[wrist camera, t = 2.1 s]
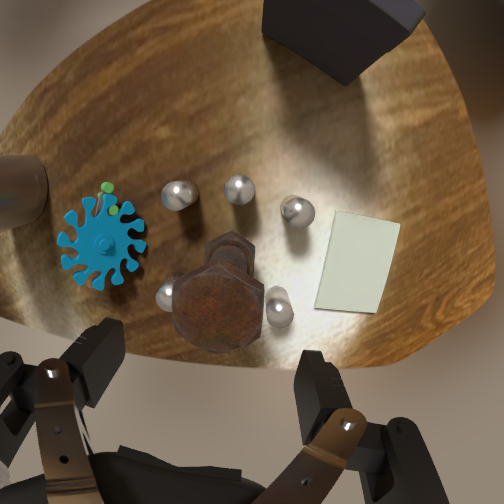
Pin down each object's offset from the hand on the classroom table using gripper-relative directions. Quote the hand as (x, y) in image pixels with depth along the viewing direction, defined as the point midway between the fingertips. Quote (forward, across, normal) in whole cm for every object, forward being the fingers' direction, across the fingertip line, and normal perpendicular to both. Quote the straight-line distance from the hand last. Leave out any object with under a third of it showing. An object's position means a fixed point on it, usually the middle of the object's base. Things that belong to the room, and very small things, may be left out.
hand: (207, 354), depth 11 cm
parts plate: (+19, -14, 0) cm, 23 cm away
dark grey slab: (+19, -5, -23) cm, 30 cm away
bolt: (+19, 0, 0) cm, 19 cm away
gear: (+19, +14, 0) cm, 23 cm away
